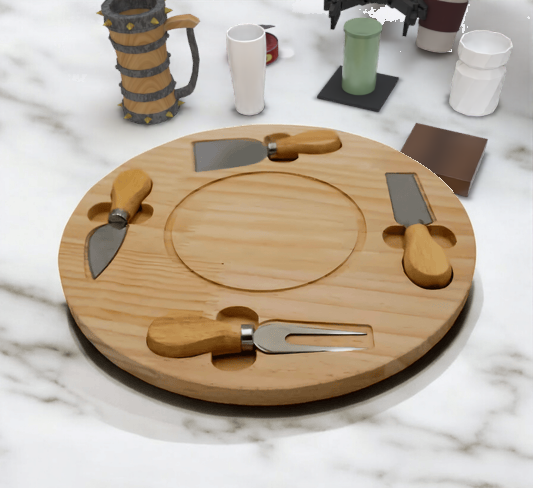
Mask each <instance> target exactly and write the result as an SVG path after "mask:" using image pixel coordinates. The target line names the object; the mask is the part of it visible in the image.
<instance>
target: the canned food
mask: <svg viewBox="0 0 533 488" xmlns="http://www.w3.org/2000/svg"><path fill="white" fill-rule="evenodd" d="M258 25H259V26H261V27H262V28H264V30H268V29H272V28H276V25H273V24H258ZM265 35H266V67H267V66H269V65H271V64H273V63H275V62H276V61H277V59H278V58H279V55H280V54H279V39H278V37H277V36H276V35H275V34H273V33H271V32H268V31H265Z"/></svg>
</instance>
